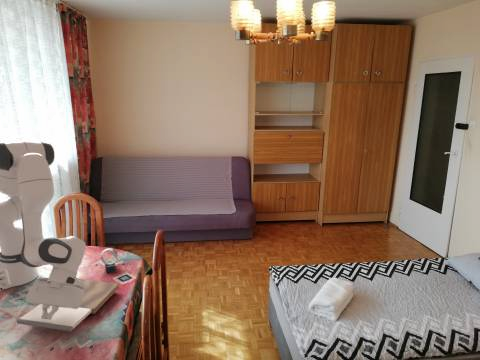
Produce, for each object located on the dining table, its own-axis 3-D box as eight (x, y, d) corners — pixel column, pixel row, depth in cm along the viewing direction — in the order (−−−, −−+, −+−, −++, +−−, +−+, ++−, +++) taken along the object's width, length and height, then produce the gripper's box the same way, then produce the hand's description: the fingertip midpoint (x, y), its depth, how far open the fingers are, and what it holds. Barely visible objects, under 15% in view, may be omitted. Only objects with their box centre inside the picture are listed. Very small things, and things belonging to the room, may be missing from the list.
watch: (119, 270, 165) (118, 249, 162) (102, 273, 162) (100, 252, 159) (118, 265, 170) (117, 245, 167) (101, 268, 167) (99, 247, 164)
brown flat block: (44, 310, 134) (43, 302, 133) (73, 286, 151) (72, 278, 150) (95, 318, 130) (94, 309, 129) (119, 292, 147) (118, 283, 146)
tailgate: (42, 305, 132) (16, 324, 120) (42, 301, 132) (16, 320, 120) (91, 312, 128) (69, 332, 116) (91, 308, 128) (69, 328, 116)
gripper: (31, 274, 125) (14, 313, 118) (81, 280, 122) (66, 321, 115) (42, 279, 131) (25, 316, 124) (90, 285, 127) (76, 324, 120)
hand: (45, 319), depth 119 cm, fingers closed
